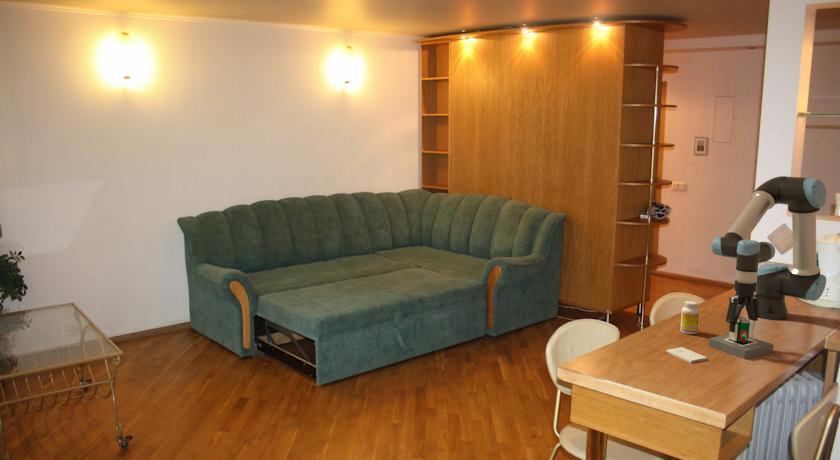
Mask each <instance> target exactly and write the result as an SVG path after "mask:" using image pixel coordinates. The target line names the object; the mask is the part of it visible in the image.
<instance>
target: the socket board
mask: <svg viewBox="0 0 840 460" xmlns="http://www.w3.org/2000/svg"><path fill="white" fill-rule="evenodd" d="M729 335H730V333H727V334H723V335H718V336H713V337H709V338H708V347H712V348H714V349H717V350H720V351H722V352H724V353H728V354H730V355H732V356H735V357H738V358H740V359H743V360H746V359H749V358H755V357H758V356H762V355H766V354H771V353H773V352H774V345H775V344H773V343H771V342H767V341H764V340H761V339H758V338H755V337H754V336H753V337H749V339H748V344H745V345H741V344H738V343H735V342H734V340H731V339H729Z"/></svg>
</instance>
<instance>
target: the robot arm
mask: <svg viewBox="0 0 840 460" xmlns="http://www.w3.org/2000/svg"><path fill="white" fill-rule="evenodd" d="M827 196H828V195H827V188H826V185H825V183H824V182H823V181H822V180H821V179H819V178H813V177H801V176H800V177H799V176H798V177H797V176H784V175H780V176H776V177H773V178H770V179H769V180H766V181H765V182H763V183H762V184H760V185H759V186H758V187H757V188H756V189H755V190H753V192H752V194H751V196H750V201H749V202H748V204H747V205H746V206H745V208H743V210H742V212H741V213H740V214H739V215H738V217H737V219H736V220H735V221H734V222H733V223H732V225H731V226H730V228H729V229H728V231H727V232H726V233H725V235H724V236H716V237H714V238H713V239H712V242H711V245H710V246H711V252H712V254H714V255H715V256H716V255H717V256H719V257H723V258H731V259H736V262H735V263H736V264H735V265H736V266H735V275H734V276H735V277H734V279H735V280H734V287H733V289H734V291H735V292H736V293H735V296H730V297H729V299H728V300H729V304H728V308H727V312H726V313H727V314H726V316H725V317H726V319H725V323H729V328H728V330H729V334H730V335H729V339H731V340H734V341H737V330H738V324H736V323H737V320H738V318H739V317H740V315H741V313H742V310H743V309H744V307H745V311H746V314H747V318H748V319H749V321H750V329H749V337H753V338H754V329H755V328H754V327H755V322H757V321H758V320H759V318H760V319H766V320H785V319H788V316H789V311H788V308H787V303H786V299H785V298H786V296H787V297H792V298H796V299H801V300H804V301H817V300H819V299H820V298H821V297H822V296H823V293H824V291H825V289H826V284H827V277H826V275H825V274H821V268H820V267H819V266H817V214H818V213H819V212H820V211H821V208H823V207H824V206H825V204H826V201H827V200H826V199H827ZM775 205H787V211H788V212H789V213H790V214H791V219H792V220H791V224H792V225H791V226H792V227H791V228H792V232H791V233H792V235H791V236H792V265H791V266H790V267H789V266H788V264H784V263H767V264H762V263H765V262H768V261H770V260H771V259H773V258H774V257H775V254H776V249H775V246H774V245H773V244H772V243H771V242H768V241H757V240H752V239H748V238H749V236H750V235H751V233H752V232H753V231H754V229H755V228H756V226H758V224H759V223H760V222H761V220H762V218H763V217H764V216H765V215H766V213H767V211H768V210H771V209H772V208H773V207H774V206H775ZM759 264H762V265H759Z"/></svg>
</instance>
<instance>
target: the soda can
mask: <svg viewBox="0 0 840 460" xmlns="http://www.w3.org/2000/svg"><path fill="white" fill-rule="evenodd" d="M736 324H738V330H737V341H734V342H735V343H738V344H741V345H745V344H748V339H749V329H750V321H749V318H748V317H744V316H739V318H738V320H737V323H736Z"/></svg>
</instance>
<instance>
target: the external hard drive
mask: <svg viewBox="0 0 840 460" xmlns="http://www.w3.org/2000/svg"><path fill="white" fill-rule="evenodd" d="M667 352H668V354H669V353H670V354H669V355H671V356H674V357H676V358H678V359H681V360H683V361H685V362H688V363H690V364H694V363H698V362H704V361H709V358H708V357H707V356H705V355H702V354H701V353H697V352H695V351H692V350H691V349H687V348H685V347H683V346H680V347H673V348H669V349H667V350H666V352H665V353H667Z"/></svg>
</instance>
